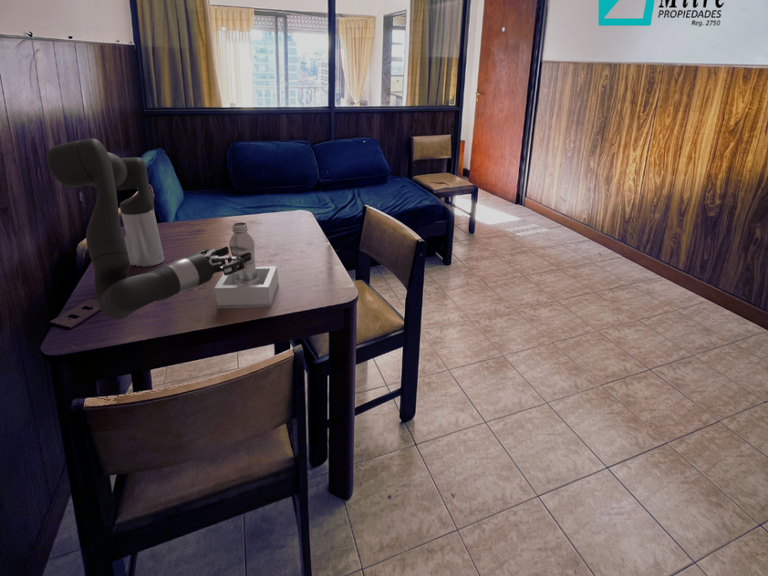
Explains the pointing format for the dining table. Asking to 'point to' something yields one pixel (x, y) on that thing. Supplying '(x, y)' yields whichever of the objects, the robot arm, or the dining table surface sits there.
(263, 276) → the bin
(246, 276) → the plastic bottle
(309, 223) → the dining table surface
